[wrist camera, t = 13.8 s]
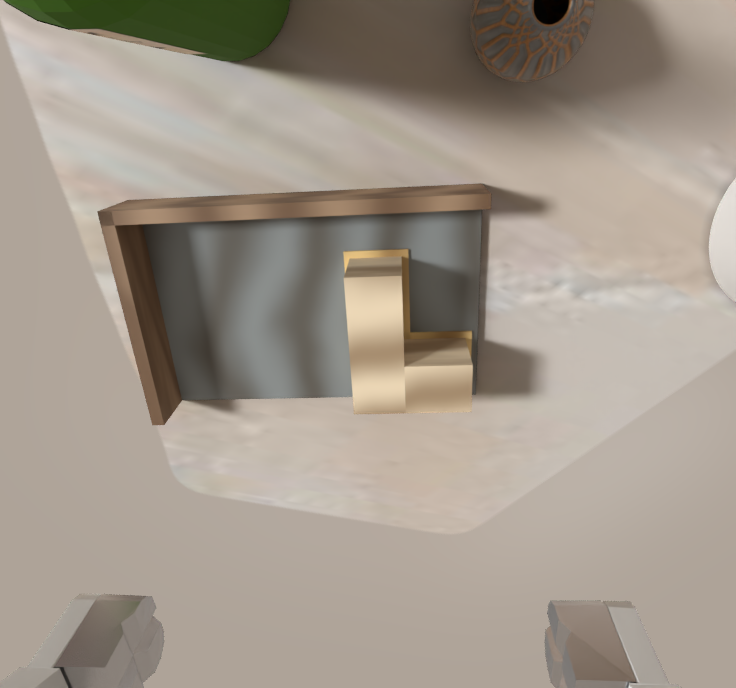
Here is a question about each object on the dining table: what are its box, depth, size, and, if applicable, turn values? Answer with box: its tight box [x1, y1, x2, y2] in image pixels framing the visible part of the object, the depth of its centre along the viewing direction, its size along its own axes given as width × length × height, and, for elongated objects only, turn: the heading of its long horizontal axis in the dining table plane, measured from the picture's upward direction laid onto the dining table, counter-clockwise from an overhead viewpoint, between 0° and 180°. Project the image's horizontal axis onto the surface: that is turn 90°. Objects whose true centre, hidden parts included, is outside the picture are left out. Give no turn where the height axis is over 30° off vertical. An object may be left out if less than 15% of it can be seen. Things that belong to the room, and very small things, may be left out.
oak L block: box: [344, 256, 473, 414], centre depth 41 cm, size 11×9×5 cm
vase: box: [470, 0, 594, 82], centre depth 31 cm, size 7×7×9 cm
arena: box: [98, 184, 491, 425], centre depth 42 cm, size 27×18×5 cm, turn 93°
